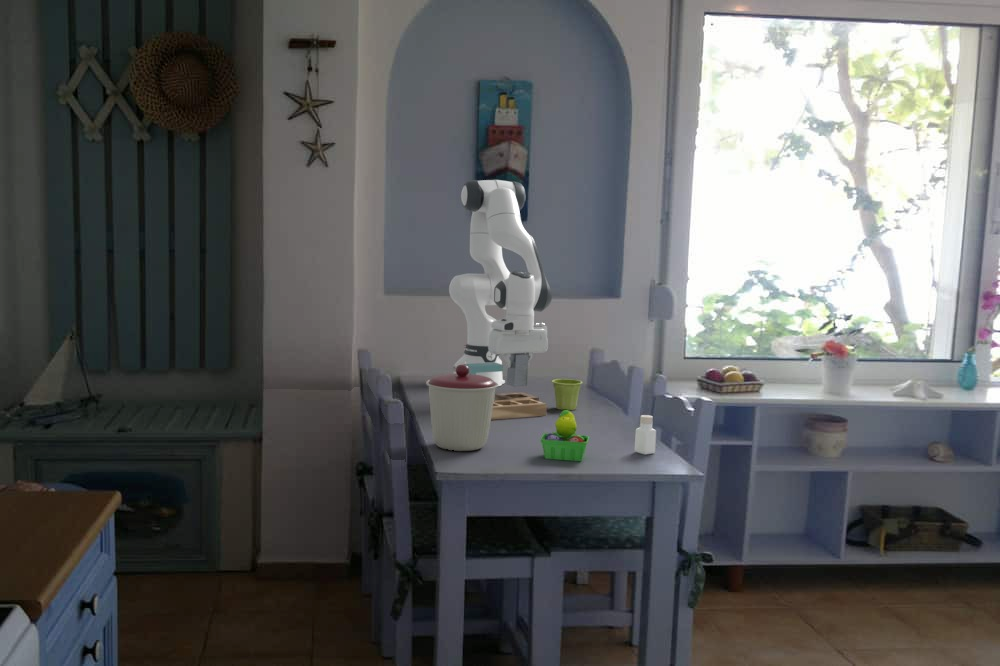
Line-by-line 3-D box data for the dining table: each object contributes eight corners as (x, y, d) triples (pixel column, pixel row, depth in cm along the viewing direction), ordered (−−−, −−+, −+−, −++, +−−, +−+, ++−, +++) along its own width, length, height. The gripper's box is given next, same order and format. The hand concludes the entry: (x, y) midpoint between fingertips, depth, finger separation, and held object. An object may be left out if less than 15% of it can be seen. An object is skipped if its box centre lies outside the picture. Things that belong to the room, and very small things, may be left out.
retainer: (491, 400, 307) (493, 362, 306) (503, 404, 301) (504, 365, 300) (454, 403, 301) (456, 363, 299) (465, 407, 295) (467, 367, 293)
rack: (465, 414, 291) (466, 402, 291) (528, 409, 302) (528, 398, 302) (482, 420, 282) (482, 408, 282) (546, 415, 294) (546, 403, 293)
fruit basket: (539, 459, 238) (541, 413, 237) (543, 451, 247) (545, 407, 246) (585, 463, 236) (588, 417, 235) (589, 455, 245) (591, 410, 244)
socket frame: (521, 401, 315) (521, 392, 315) (538, 407, 306) (538, 397, 306) (447, 406, 301) (447, 397, 301) (462, 412, 293) (462, 402, 292)
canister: (510, 449, 248) (513, 366, 245) (456, 459, 235) (459, 372, 233) (463, 436, 261) (466, 357, 258) (409, 444, 248) (411, 362, 246)
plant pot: (565, 412, 299) (566, 384, 298) (544, 407, 306) (545, 380, 305) (587, 409, 305) (588, 382, 304) (566, 404, 312) (567, 378, 311)
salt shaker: (644, 450, 252) (646, 414, 251) (655, 453, 249) (658, 416, 248) (633, 452, 250) (635, 415, 249) (644, 455, 247) (646, 418, 246)
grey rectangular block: (506, 384, 309) (508, 352, 307) (519, 383, 311) (520, 352, 310) (514, 386, 305) (515, 354, 303) (527, 385, 307) (528, 354, 306)
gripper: (542, 321, 313) (539, 364, 315) (486, 322, 303) (484, 367, 305) (553, 323, 308) (550, 367, 310) (497, 325, 298) (495, 370, 299)
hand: (517, 367), depth 307 cm, fingers closed on grey rectangular block, 5 cm apart
